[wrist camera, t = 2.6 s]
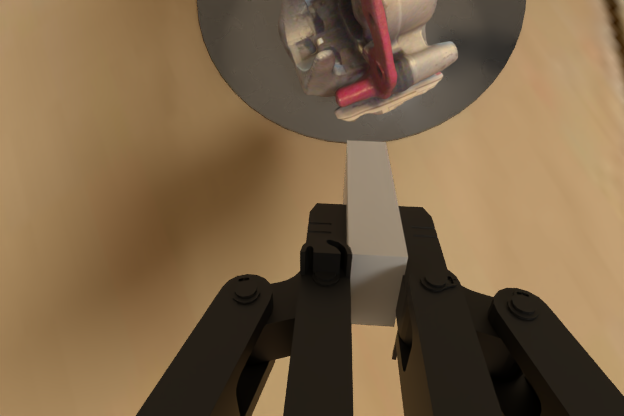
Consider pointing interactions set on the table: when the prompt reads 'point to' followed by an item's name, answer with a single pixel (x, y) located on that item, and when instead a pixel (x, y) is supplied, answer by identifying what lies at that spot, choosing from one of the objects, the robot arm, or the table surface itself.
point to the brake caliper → (363, 51)
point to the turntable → (320, 110)
